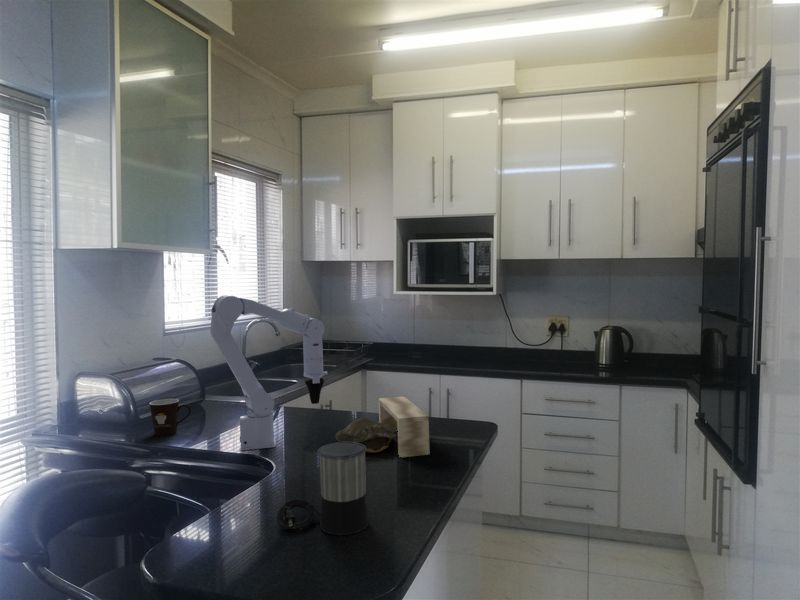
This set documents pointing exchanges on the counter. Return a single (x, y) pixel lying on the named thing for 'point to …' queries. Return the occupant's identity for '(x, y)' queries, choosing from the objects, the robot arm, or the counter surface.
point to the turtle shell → (367, 434)
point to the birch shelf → (406, 425)
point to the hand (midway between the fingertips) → (315, 403)
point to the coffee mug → (166, 416)
